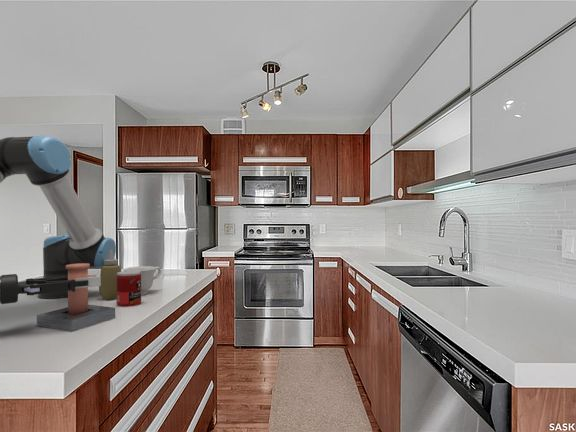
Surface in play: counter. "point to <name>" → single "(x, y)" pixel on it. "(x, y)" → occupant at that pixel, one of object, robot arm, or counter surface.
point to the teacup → (145, 276)
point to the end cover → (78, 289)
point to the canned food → (128, 288)
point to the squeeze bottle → (109, 277)
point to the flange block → (75, 318)
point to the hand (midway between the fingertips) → (98, 279)
